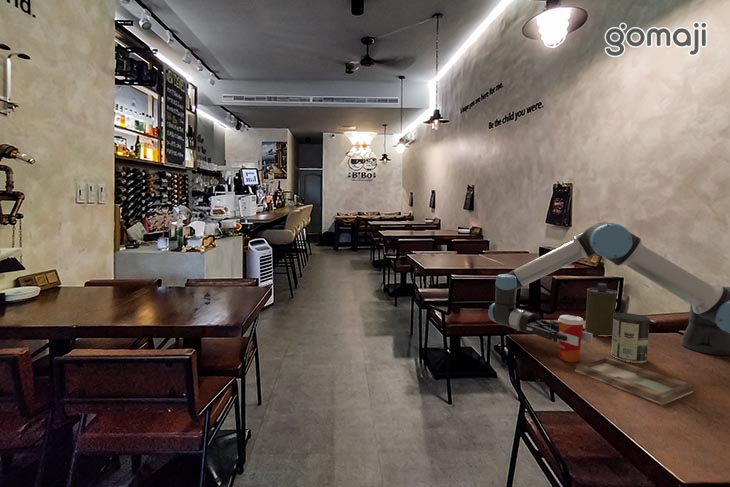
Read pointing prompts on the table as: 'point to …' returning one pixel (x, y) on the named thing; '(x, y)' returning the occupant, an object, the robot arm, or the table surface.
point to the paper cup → (573, 328)
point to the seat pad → (655, 386)
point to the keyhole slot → (634, 379)
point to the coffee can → (630, 337)
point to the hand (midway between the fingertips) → (584, 339)
